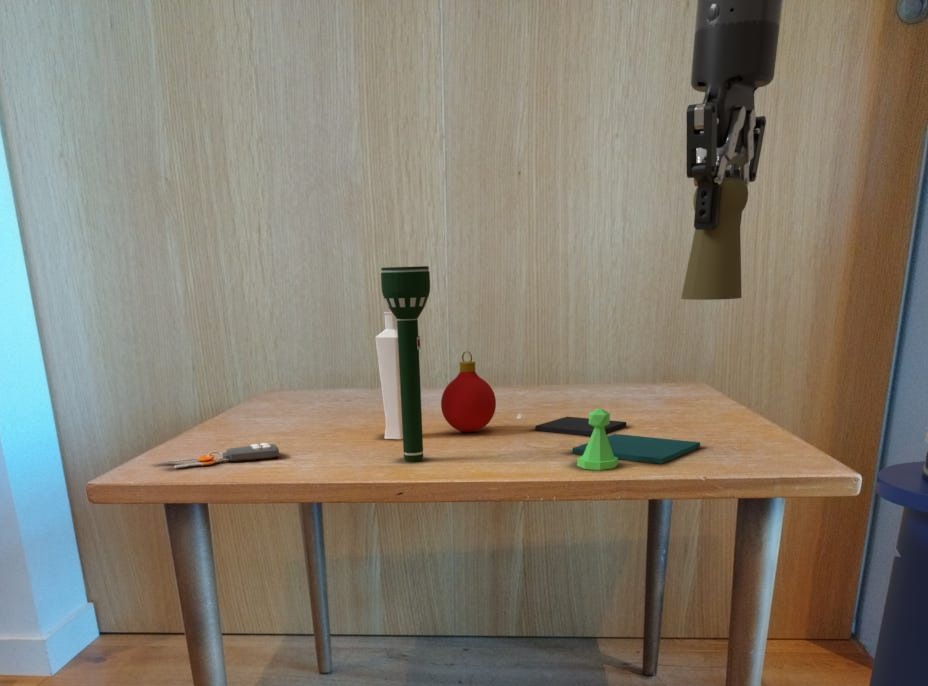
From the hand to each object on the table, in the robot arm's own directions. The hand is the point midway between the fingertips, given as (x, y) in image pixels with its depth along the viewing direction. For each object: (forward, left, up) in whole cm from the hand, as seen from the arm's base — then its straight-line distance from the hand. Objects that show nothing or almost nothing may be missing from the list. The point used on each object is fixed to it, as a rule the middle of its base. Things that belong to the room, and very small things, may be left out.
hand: (717, 229), depth 85 cm
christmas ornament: (+30, +2, -23) cm, 38 cm away
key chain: (+44, +31, -23) cm, 59 cm away
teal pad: (+6, +2, -23) cm, 24 cm away
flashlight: (+25, +19, -23) cm, 39 cm away
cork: (0, 0, -7) cm, 7 cm away
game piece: (+6, +11, -23) cm, 26 cm away
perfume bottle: (+36, +9, -23) cm, 44 cm away
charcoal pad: (+19, -7, -23) cm, 30 cm away
